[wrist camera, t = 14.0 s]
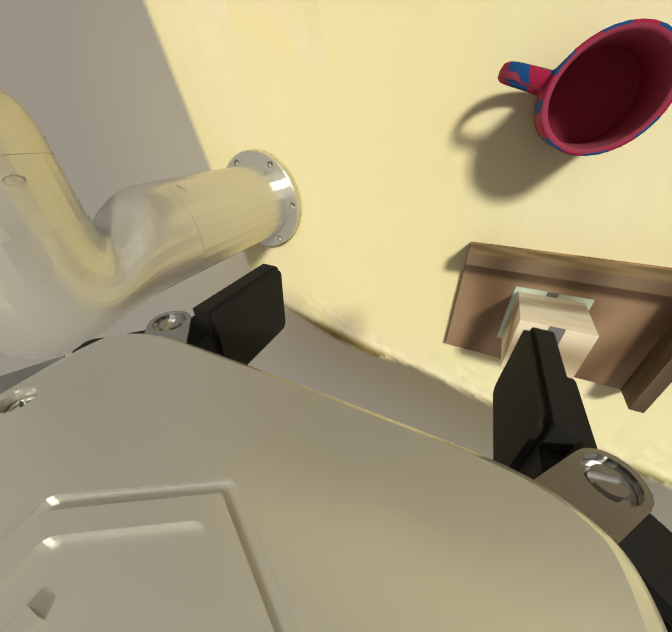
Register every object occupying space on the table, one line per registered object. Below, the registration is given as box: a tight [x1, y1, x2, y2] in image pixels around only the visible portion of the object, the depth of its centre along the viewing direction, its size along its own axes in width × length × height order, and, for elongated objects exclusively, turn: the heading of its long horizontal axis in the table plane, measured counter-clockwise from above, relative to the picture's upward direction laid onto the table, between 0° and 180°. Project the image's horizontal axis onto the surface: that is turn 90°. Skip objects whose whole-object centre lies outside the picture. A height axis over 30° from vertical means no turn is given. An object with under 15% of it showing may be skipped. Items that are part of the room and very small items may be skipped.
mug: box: [498, 19, 672, 156], centre depth 21 cm, size 7×10×7 cm
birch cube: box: [501, 291, 599, 379], centre depth 30 cm, size 6×6×6 cm
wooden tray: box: [446, 242, 672, 413], centre depth 31 cm, size 20×14×4 cm
